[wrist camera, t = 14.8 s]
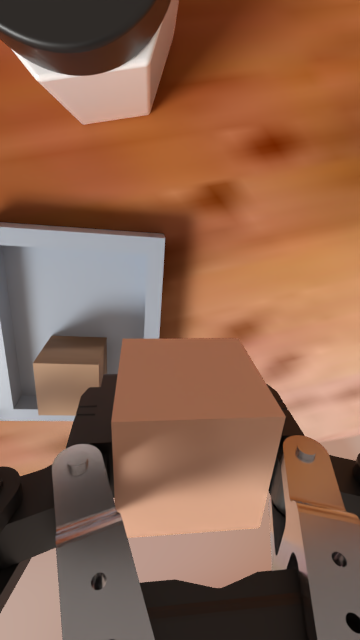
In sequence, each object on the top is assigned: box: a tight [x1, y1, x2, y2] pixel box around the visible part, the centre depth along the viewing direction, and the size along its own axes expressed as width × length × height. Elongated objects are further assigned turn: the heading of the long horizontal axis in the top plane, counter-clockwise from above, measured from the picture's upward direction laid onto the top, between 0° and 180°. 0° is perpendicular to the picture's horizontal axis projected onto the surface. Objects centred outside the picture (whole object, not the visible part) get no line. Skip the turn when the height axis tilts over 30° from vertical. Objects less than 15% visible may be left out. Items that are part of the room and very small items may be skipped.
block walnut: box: [33, 336, 107, 416], centre depth 25 cm, size 4×4×4 cm
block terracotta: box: [111, 338, 286, 538], centre depth 11 cm, size 4×4×4 cm
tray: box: [0, 222, 165, 421], centre depth 25 cm, size 16×13×2 cm
